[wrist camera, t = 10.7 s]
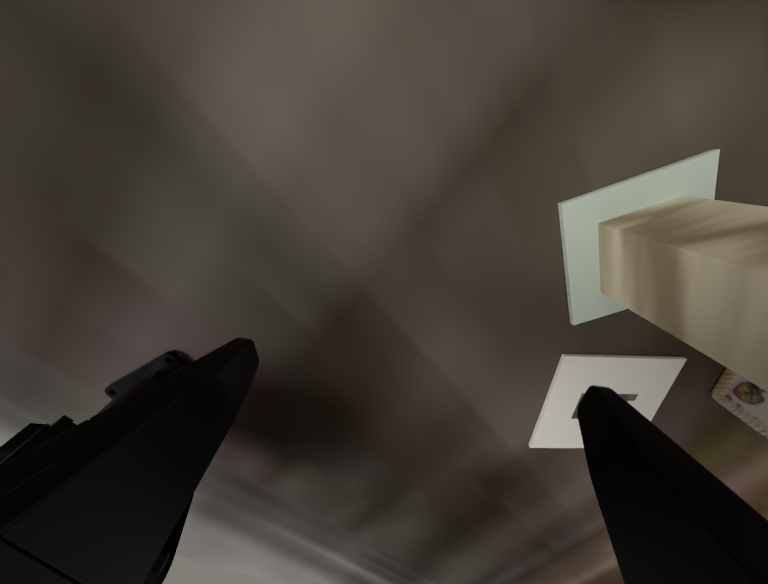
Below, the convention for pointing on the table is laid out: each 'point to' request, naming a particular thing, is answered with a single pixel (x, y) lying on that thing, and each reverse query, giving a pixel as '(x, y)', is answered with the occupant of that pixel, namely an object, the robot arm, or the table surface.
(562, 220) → the coaster
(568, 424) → the white tile
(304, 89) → the table surface
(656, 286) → the birch block
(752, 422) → the decorative jar
